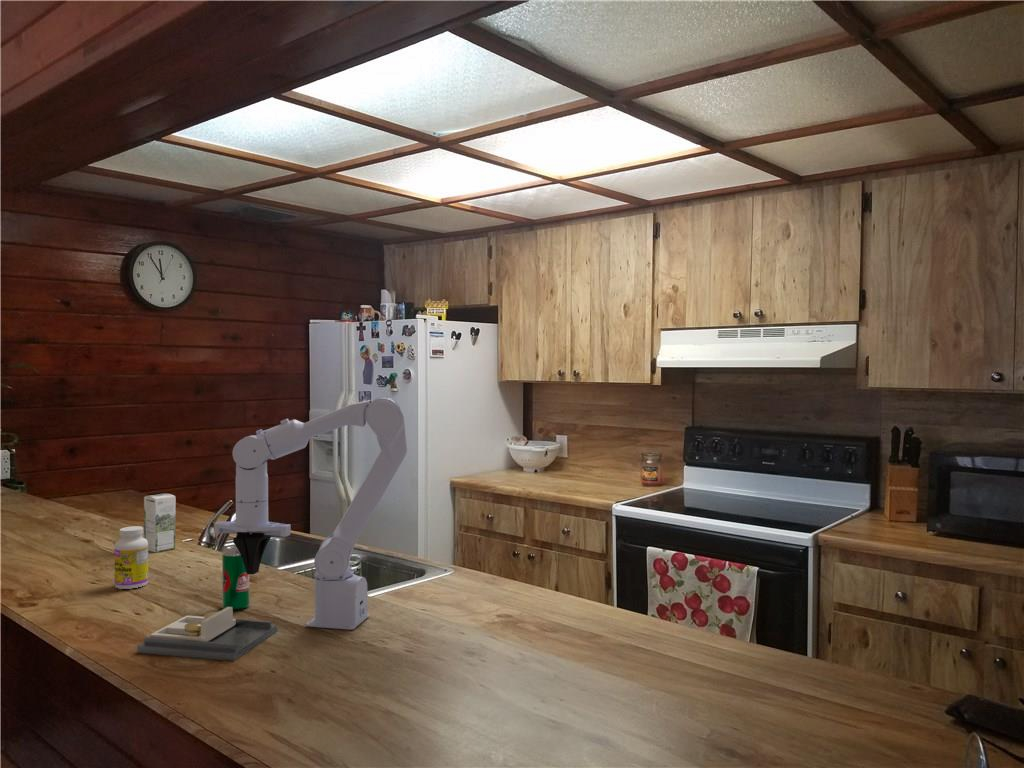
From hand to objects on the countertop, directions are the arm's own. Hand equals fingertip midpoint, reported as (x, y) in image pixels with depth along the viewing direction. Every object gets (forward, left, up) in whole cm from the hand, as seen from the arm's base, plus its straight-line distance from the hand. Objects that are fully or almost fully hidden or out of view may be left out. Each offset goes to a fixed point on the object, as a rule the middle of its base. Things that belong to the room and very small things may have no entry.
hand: (252, 572), depth 138 cm
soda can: (+9, -9, -10) cm, 16 cm away
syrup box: (+56, -49, -10) cm, 75 cm away
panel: (+6, +9, -8) cm, 14 cm away
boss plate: (+3, +9, -10) cm, 14 cm away
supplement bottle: (+40, -18, -10) cm, 45 cm away
